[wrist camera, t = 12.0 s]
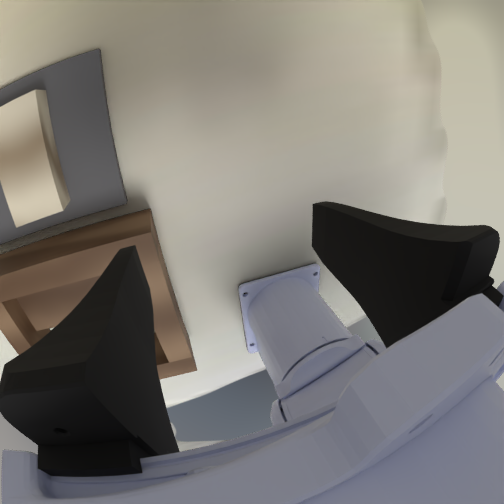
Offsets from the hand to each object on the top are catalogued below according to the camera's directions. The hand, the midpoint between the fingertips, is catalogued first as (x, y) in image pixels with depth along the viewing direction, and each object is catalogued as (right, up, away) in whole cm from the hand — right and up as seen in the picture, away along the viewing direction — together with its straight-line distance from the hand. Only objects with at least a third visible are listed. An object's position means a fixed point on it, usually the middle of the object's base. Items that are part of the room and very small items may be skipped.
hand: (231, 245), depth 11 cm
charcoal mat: (-14, +7, +3) cm, 16 cm away
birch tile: (-14, +6, +3) cm, 15 cm away
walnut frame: (-13, -4, +10) cm, 17 cm away
